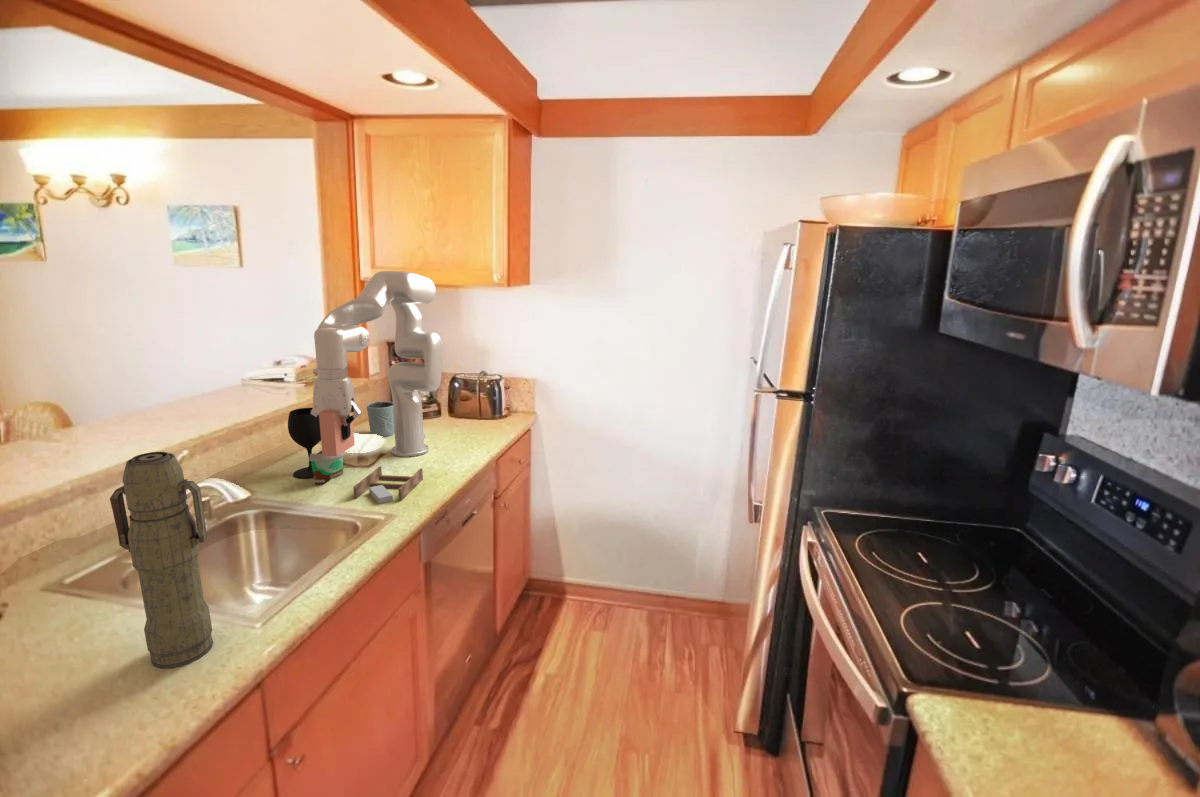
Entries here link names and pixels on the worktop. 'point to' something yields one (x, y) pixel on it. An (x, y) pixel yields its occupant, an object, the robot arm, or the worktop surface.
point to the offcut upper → (381, 494)
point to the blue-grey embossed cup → (381, 418)
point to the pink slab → (333, 434)
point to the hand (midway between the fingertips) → (338, 437)
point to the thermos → (165, 556)
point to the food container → (326, 467)
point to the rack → (377, 475)
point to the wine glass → (304, 435)
